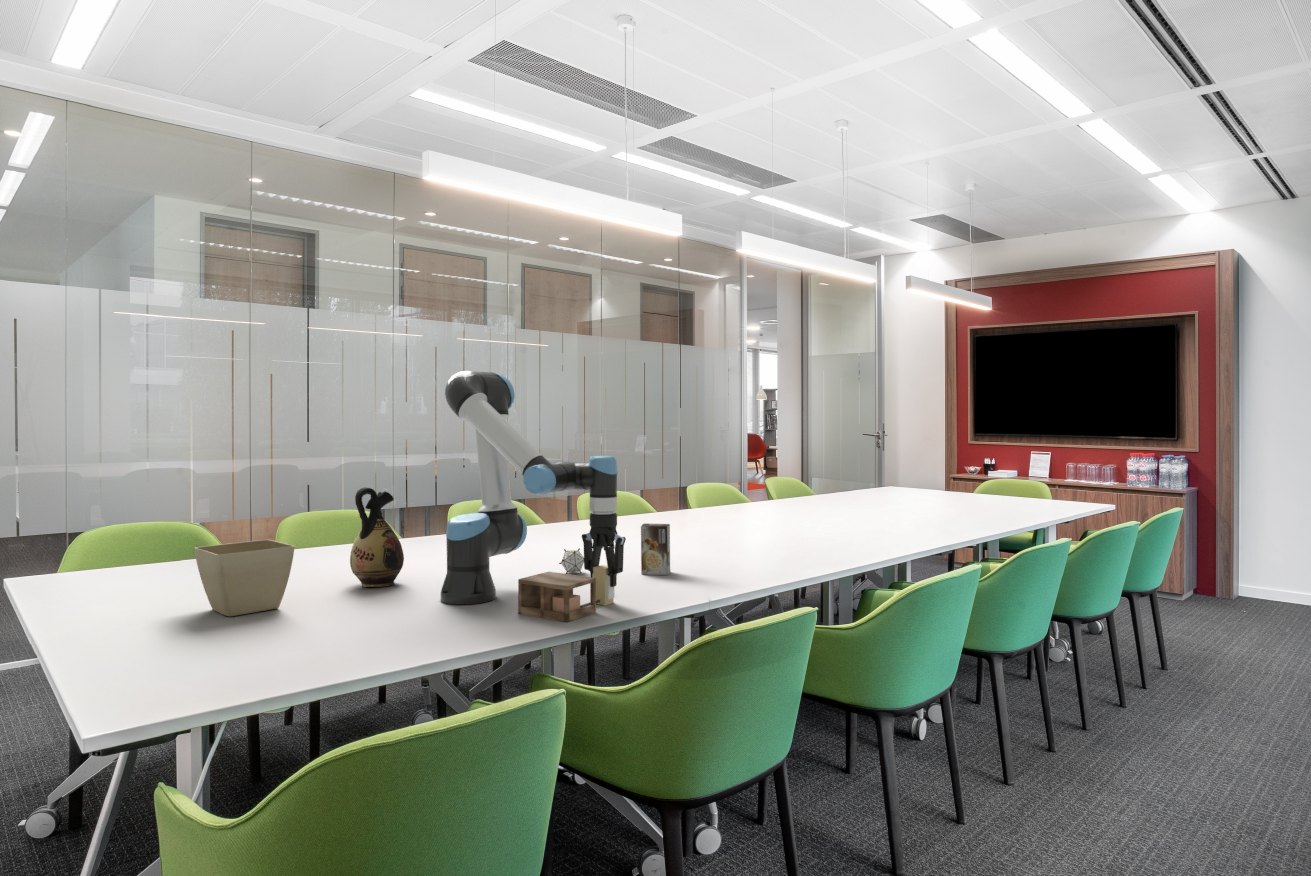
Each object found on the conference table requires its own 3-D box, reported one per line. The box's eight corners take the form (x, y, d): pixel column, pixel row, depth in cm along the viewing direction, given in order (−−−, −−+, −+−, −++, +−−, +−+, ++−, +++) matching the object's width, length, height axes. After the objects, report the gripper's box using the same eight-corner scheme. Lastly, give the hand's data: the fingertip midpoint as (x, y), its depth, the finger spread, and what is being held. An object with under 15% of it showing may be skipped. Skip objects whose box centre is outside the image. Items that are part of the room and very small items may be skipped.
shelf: (548, 604, 210) (548, 571, 209) (595, 612, 201) (595, 577, 201) (518, 613, 199) (518, 579, 199) (566, 622, 191) (566, 586, 191)
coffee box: (671, 571, 256) (671, 523, 255) (668, 575, 249) (668, 526, 249) (643, 570, 257) (643, 522, 257) (640, 574, 251) (640, 525, 250)
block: (600, 600, 214) (600, 564, 214) (615, 602, 212) (615, 566, 211) (552, 616, 197) (552, 577, 197) (567, 618, 194) (567, 579, 194)
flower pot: (193, 609, 204) (192, 546, 203) (268, 597, 217) (268, 538, 217) (218, 622, 191) (217, 554, 190) (296, 609, 205) (296, 545, 204)
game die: (576, 585, 252) (580, 564, 246) (553, 575, 253) (556, 554, 247) (588, 567, 259) (592, 547, 253) (565, 558, 260) (569, 537, 254)
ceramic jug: (383, 577, 245) (383, 484, 245) (414, 583, 236) (413, 486, 236) (334, 586, 232) (333, 487, 231) (364, 593, 223) (364, 490, 222)
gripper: (636, 512, 209) (636, 598, 210) (586, 509, 218) (587, 591, 219) (621, 515, 203) (621, 603, 203) (570, 511, 212) (570, 596, 213)
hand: (603, 597), depth 211 cm, fingers closed on block, 4 cm apart
